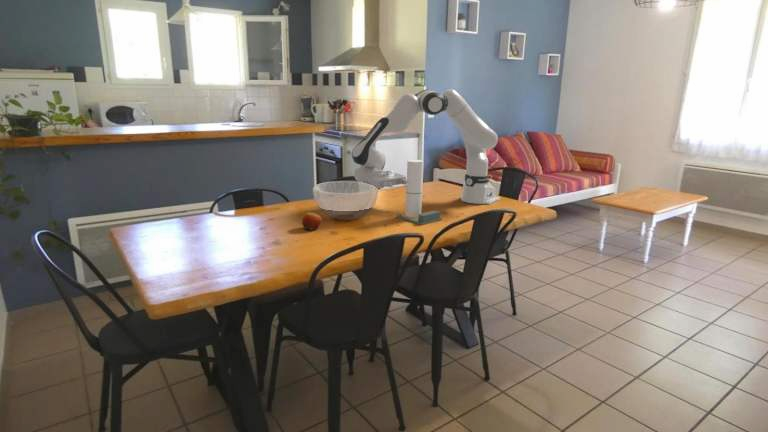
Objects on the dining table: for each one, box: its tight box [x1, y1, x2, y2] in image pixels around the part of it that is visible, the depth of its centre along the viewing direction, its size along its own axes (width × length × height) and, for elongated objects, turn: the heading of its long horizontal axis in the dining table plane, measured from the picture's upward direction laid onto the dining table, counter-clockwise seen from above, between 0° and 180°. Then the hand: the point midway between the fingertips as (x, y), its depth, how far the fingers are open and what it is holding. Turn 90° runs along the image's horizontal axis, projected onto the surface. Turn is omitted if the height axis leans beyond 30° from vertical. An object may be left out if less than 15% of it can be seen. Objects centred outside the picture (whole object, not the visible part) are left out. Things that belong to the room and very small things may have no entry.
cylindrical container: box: [405, 159, 424, 217], centre depth 208 cm, size 7×7×25 cm
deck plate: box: [395, 210, 442, 226], centre depth 209 cm, size 13×16×4 cm
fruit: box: [301, 212, 323, 232], centre depth 190 cm, size 8×8×8 cm
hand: (398, 184), depth 215 cm, fingers open, 8 cm apart
